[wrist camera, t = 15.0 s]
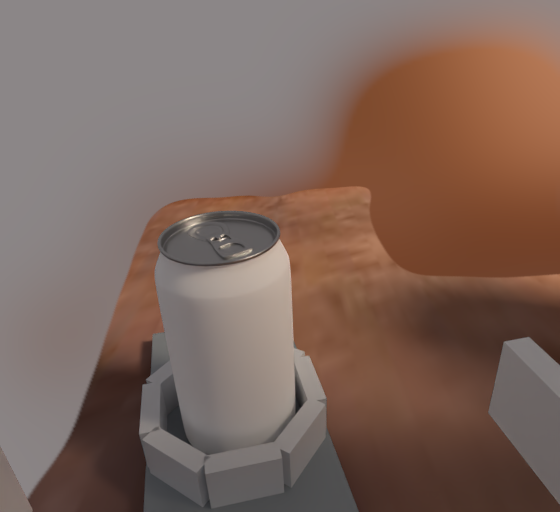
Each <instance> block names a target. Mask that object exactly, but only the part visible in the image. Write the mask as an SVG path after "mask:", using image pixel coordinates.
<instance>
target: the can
mask: <svg viewBox="0 0 560 512" xmlns="http://www.w3.org/2000/svg"><path fill="white" fill-rule="evenodd" d="M279 237H280V229H279V227H278V225H277V224H276V223H275V222H274V221H272V220H271V219H269V218H267V217H265V216H262V215H259V214H255V213H251V212H243V211H218V212H210V213H204V214H199V215H195V216H192V217H189V218H186V219H183V220H181V221H178V222H176V223H174V224H173V225H171V226H169V227H168V228H167V229H166V230H164V231H163V232H162V234H161V235H160V237H159V239H158V248H159V250H160V255H159V258H158V261H157V264H156V267H155V283H156V289H157V295H158V300H159V305H160V311H161V316H162V321H163V326H164V331H165V337H166V342H167V347H168V352H169V357H170V362H171V367H172V372H173V377H174V382H175V387H176V392H177V397H178V402H179V407H180V412H181V416H182V421H183V426H184V430H185V433H186V436H187V438H188V440H189V442H190V443H191V445H192V446H193V447H194V448H196V449H198V450H199V451H201V452H203V453H204V454H206V455H212V454H217V453H222V452H227V451H231V450H236V449H241V448H246V447H251V446H256V445H261V444H266V443H271V442H275V440H276V439H277V438H278V436H279V435H280V434H281V433H282V431H283V430H284V429H285V428H286V426H287V425H288V424H289V422H290V421H291V420H292V419H293V417H294V416H295V372H294V344H293V317H292V292H291V272H290V261H289V256H288V254H287V252H286V250H285V248H284V246H283V245H282V243H281V241H280V240H279Z"/></svg>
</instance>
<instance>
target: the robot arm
mask: <svg viewBox="0 0 560 512" xmlns="http://www.w3.org/2000/svg"><path fill="white" fill-rule="evenodd" d="M488 413H489V415H490V416H491V417H492V418H493V420H494V421H495V422H496V423H497V425H498V426H499V427H500V429H501V430H502V431H503V432H504V434H505V435H506V436H507V438H508V439H509V440H510V441H511V443H512V444H513V445H514V447H515V448H516V449H517V450H518V452H519V453H520V454H521V456H522V457H523V458H524V459H525V461H526V462H527V463H528V465H529V466H530V467H531V468H532V470H533V471H534V472H535V474H536V475H537V476H538V477H539V479H540V480H541V481H542V483H543V484H544V485H545V486H546V488H547V489H548V490H549V492H550V493H551V494H552V495H553V497H554V498H555V499H556V501H557V502H558V503H559V504H560V365H559V364H558V363H557V362H556V361H554V360H553V359H552V358H551V357H550V356H549V355H548V354H547V353H546V352H545V351H544V350H543V349H541V348H540V347H539V346H538V345H537V344H536V343H535V342H534V341H533V340H532V339H531V338H530V337H526V338H521V339H515V340H510V341H505V342H504V344H503V348H502V353H501V357H500V362H499V366H498V371H497V375H496V380H495V384H494V389H493V393H492V398H491V402H490V407H489V411H488ZM0 512H33V509H32V507H31V505H30V504H29V502H28V500H27V498H26V496H25V494H24V492H23V490H22V488H21V486H20V484H19V482H18V480H17V478H16V477H15V474H14V472H13V470H12V468H11V466H10V465H9V463H8V461H7V459H6V457H5V455H4V453H3V451H2V449H1V447H0Z"/></svg>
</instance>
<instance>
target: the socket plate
mask: <svg viewBox="0 0 560 512" xmlns="http://www.w3.org/2000/svg"><path fill="white" fill-rule="evenodd" d="M293 344H294V372H295V416H294V417H293V419H292V420H291V421H290V422H289V424H288V425H287V426H286V428H285V429H284V430H283V431H282V433H281V434H280V435H279V436H278V438H277V439H276V440H275V442H271V443H266V444H261V445H256V446H251V447H246V448H241V449H236V450H231V451H227V452H222V453H217V454H212V455H206V454H204V453H203V452H201V451H199V450H198V449H196V448H194V447H193V446H192V445H191V443H190V442H189V440H188V438H187V436H186V433H185V430H184V426H183V421H182V416H181V412H180V407H179V402H178V397H177V392H176V387H175V382H174V377H173V372H172V367H171V362H170V357H169V352H168V347H167V342H166V337H165V332H163V333H157V334H153V341H152V360H151V376H149V377H148V378H147V379H146V382H147V384H143V387H142V401H141V414H140V428H139V436H140V440H141V444H142V447H143V451H144V455H145V459H146V474H145V493H144V512H359V511H358V508H357V506H356V503H355V500H354V498H353V495H352V493H351V490H350V487H349V485H348V482H347V479H346V477H345V474H344V472H343V469H342V466H341V464H340V461H339V458H338V456H337V453H336V451H335V448H334V445H333V443H332V440H331V437H330V435H329V432H328V430H327V427H326V405H327V398H326V396H325V393H324V391H323V389H322V386H321V384H320V381H319V379H318V376H317V374H316V371H315V369H314V367H313V364H312V362H311V359H310V357H309V356H305V352H303V351H301V350H298V349H297V348H296V346H295V343H294V340H293Z"/></svg>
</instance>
